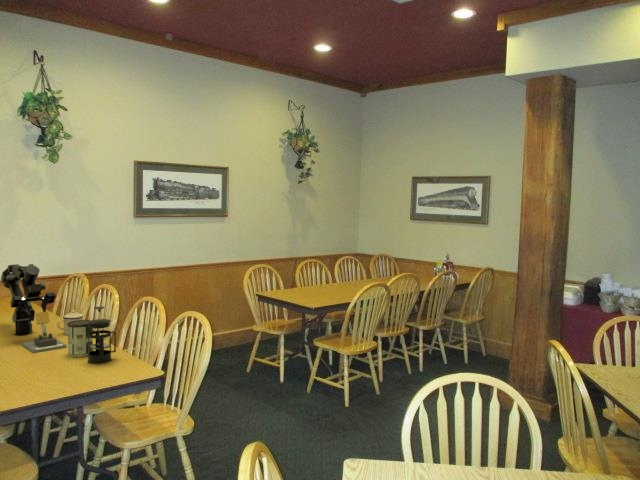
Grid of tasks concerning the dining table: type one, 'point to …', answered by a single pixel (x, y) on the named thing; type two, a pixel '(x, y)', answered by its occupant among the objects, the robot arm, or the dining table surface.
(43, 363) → the dining table surface
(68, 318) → the teacup with lid
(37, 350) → the switch board
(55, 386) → the dining table surface
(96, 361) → the french press
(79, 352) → the coffee can
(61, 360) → the dining table surface
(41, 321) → the lever
